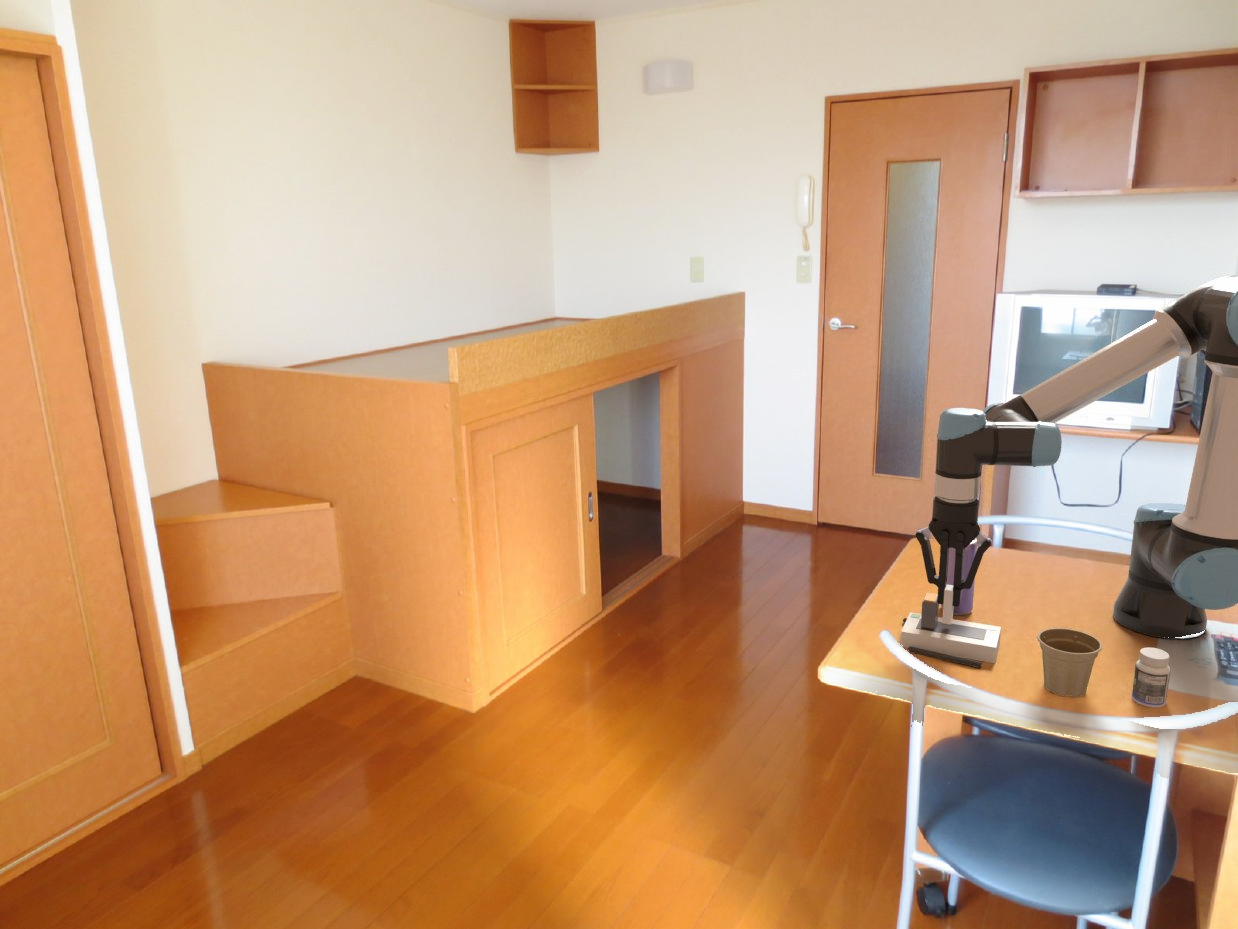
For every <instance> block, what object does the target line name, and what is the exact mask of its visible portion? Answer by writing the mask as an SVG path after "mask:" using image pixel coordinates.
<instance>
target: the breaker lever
mask: <svg viewBox="0 0 1238 929" xmlns="http://www.w3.org/2000/svg"><path fill="white" fill-rule="evenodd" d="M937 598H938V593H933V592H926V593H925V595H924V597H923V599H922V603H921V614H922V615H921V627H925V628H931V629H935V627H936V624H937V622H938V617H939V609H940V604H938V602H937Z"/></svg>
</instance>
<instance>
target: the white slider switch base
mask: <svg viewBox="0 0 1238 929" xmlns="http://www.w3.org/2000/svg"><path fill="white" fill-rule="evenodd" d="M921 615H922V613H916V612H911V611H910V612H909V614H908V616H907V617H906V618H907V620H906V622H905V623H903V624H904V625H903V626H902V628H901V632H900V645H901V644H902V645H903V647H902V648H906V649H908V647H910V646H911V647H916V648H920V649H925V650H929V651H934V652H938V653H943V654H947V655H951V656H956V657H960V658H965V659H969V660H974V661H978V662H984V663H985V662H986V663H991V664H996V660H997V656H998V652H999V647H1000V641H1001V630H1002V627H1001V626H996V625H991V624H985V623H978V622H973V621H966V620H959V619H954V618H953V619H952V622H951V625H950V624H944V623H942V617H943V616H942V617H940V616H938V622H937V624H936V627H935V629H931V628H925V627H921Z"/></svg>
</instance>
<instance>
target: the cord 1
mask: <svg viewBox="0 0 1238 929" xmlns="http://www.w3.org/2000/svg"><path fill="white" fill-rule="evenodd" d="M908 650H909V651H910V653H913V654H916V655H917V654H918V655H923V656H927V657H931V658H936V659H940V660H943V661H949V662H953V663H957V664H960V665H966V666H971V667H975V668H978V669H980V668H981V667H982V662H983V661H979V660H973V659H968V658H962V657H956V656H951V655H947V654H943V653H938V652H934V651H929V650H925V649H920V648H916V647H911V646H910V647H908V648H907V651H908ZM909 651H908V652H909Z"/></svg>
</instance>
